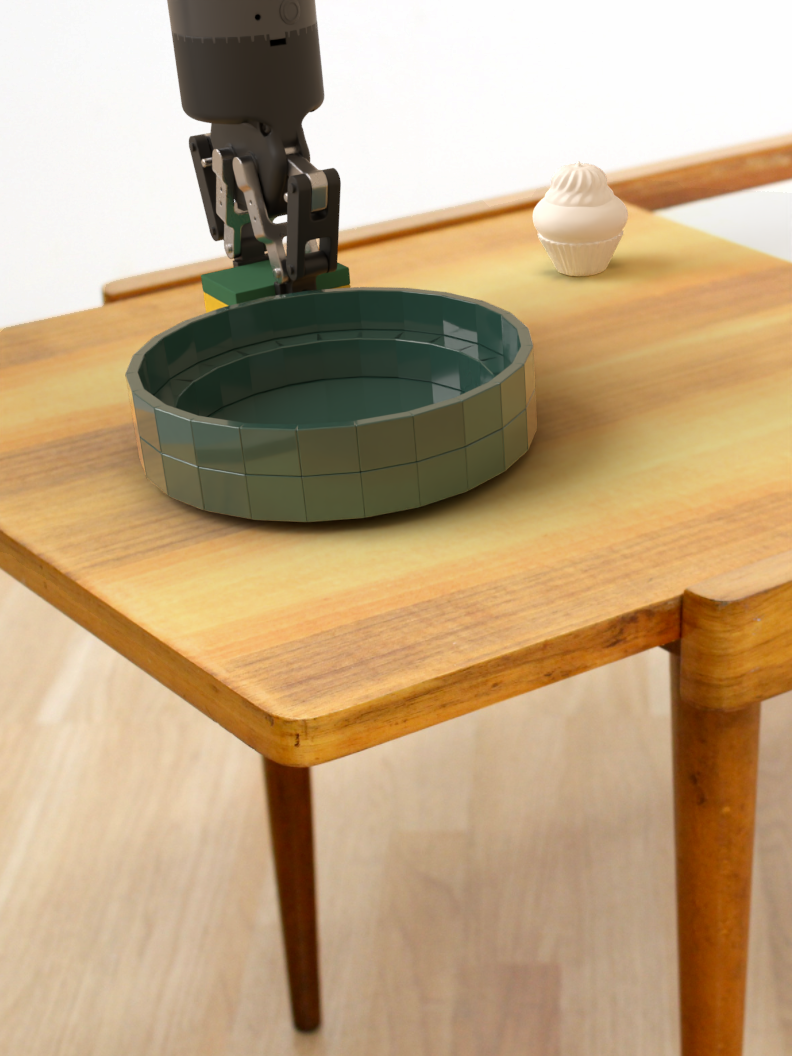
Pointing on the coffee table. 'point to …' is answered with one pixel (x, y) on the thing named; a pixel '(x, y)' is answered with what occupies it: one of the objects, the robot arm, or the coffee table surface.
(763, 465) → the coffee table surface
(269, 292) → the sponge
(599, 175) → the muffin
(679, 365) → the coffee table surface
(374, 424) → the bowl
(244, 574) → the coffee table surface
